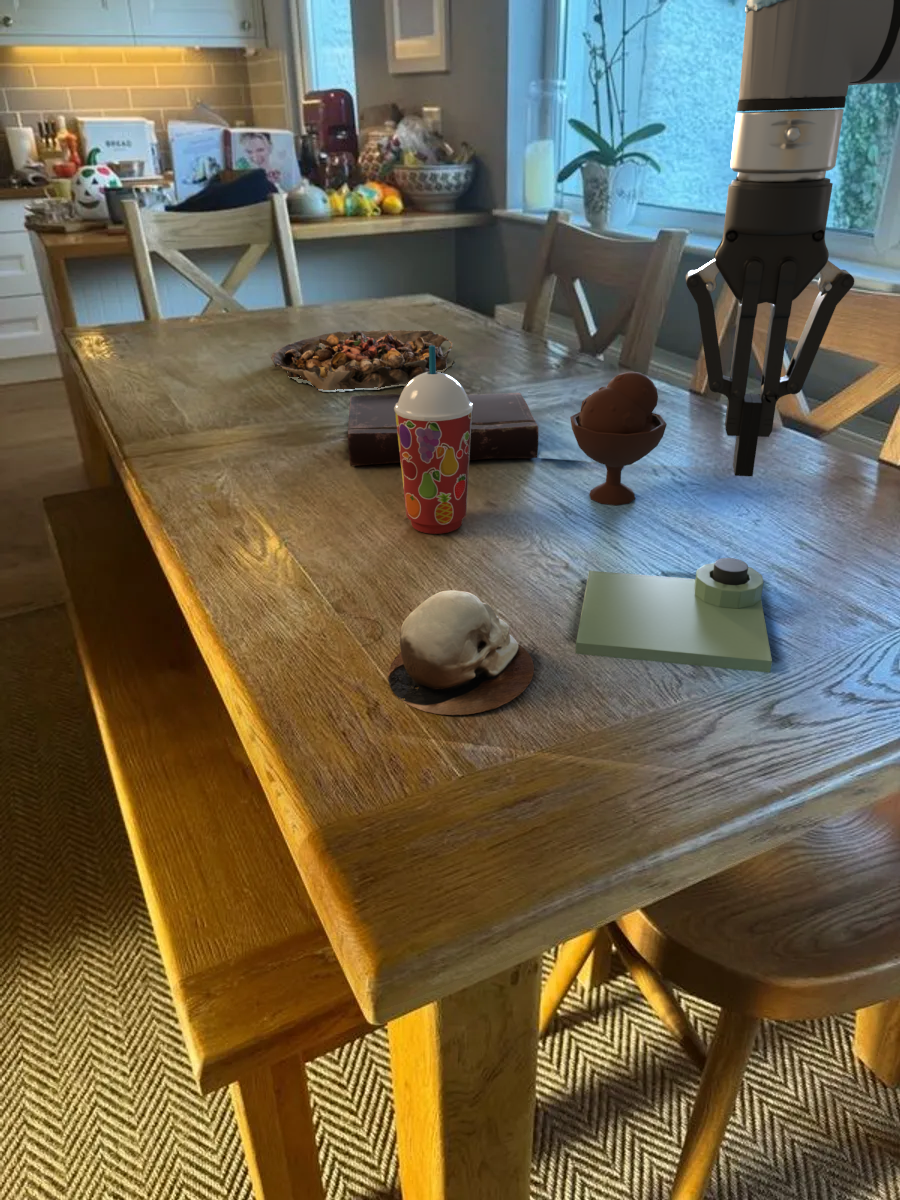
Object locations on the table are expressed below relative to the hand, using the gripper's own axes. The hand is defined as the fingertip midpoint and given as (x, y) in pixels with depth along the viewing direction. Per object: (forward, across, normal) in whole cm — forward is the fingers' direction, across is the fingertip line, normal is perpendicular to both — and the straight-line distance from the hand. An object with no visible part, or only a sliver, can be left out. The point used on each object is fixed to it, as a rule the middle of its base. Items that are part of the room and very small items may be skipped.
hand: (742, 470), depth 79 cm
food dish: (+13, -59, +81) cm, 101 cm away
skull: (+13, -22, -17) cm, 31 cm away
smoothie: (+13, -31, +13) cm, 36 cm away
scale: (+13, -5, -6) cm, 15 cm away
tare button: (+10, 0, -1) cm, 10 cm away
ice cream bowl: (+13, -12, +25) cm, 30 cm away
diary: (+13, -37, +41) cm, 56 cm away
